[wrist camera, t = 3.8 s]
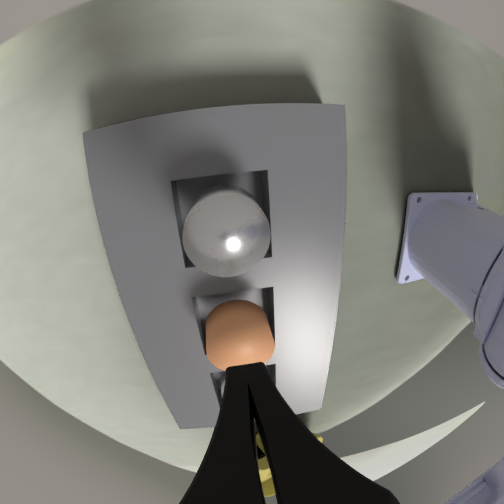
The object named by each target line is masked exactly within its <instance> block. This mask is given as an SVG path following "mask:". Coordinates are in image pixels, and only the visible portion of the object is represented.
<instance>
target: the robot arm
mask: <svg viewBox="0 0 504 504" xmlns="http://www.w3.org/2000/svg"><path fill="white" fill-rule="evenodd" d="M418 197H419V199H418V201H417V198H418ZM477 199H478V196H477V194H476V193H474V192H425V193H411V194H410V195H409V196H408V201H407V211H406V220H405V228H404V236H403V243H402V249H401V255H400V261H399V267H398V272H397V277H396V280H397V282H398V283H400V284H402V283H407V282H411V281H415V280H419V279H423V278H425V279H426V280H427V281H429V282H430V283H431V284H432V285H433V286H434V287H435V288H437V289H438V290H439V291H440V292H441V293H442V294H443V295H445V296H446V297H447V298H448V299H449V300H450V301H451V302H452V303H453V304H454V305H456V306H457V307H458V308H459V309H460V310H461V311H462V312H463V313H464V314H465V315H466V316H467V317H468V318H469V319H470V320H471V321H472V322H474V323H475V324H476V327H475V330H474V333H473V335H474V336H475V337H476V338H477V339H478V340H479V341H480V342H481V344H480V348H479V358H480V362H481V365H482V367H483V369H484V371H485V373H486V374H487V375H488V377H489V378H490V379H491V380H492V381H493V382H494V383H495V384H496V385H498V386H499V387H501V388H503V389H504V217H503V216H501V215H499V214H497V213H495V212H493V211H491V210H488V209H486V208H484V207H482V206H480V205H478V204H477ZM405 277H406V278H405ZM254 419H255V421H254ZM255 422H256V426H257V429H258V432H259V436H260V439H261V442H262V445H263V448H264V452H265V455H266V458H267V461H268V464H269V468H270V471H271V476H272V480H273V485H274V489H275V494H276V498H277V503H278V504H400V503H399V501H398V500H397V498H396V497H395V496H394V495H393V494H392V493H391V492H390V491H389V490H388V489H386V488H384V487H382V486H380V485H378V484H377V483H375V482H373V481H372V480H370V479H368V478H367V477H365V476H363V475H362V474H360V473H359V472H357V471H356V470H354V469H353V468H352V467H350V466H349V465H348V464H346V463H345V462H344V461H343V460H341V459H340V458H338V457H337V456H336V455H335V454H334V453H332V452H331V451H330V450H329V449H328V448H327V447H326V446H325V445H324V444H322V443H321V442H320V441H319V440H318V439H317V438H316V437H315V436H314V435H313V434H312V433H311V432H310V431H309V429H308V428H307V427H306V426H305V425H304V424H303V423H302V421H301V420H300V419H299V418H298V417H297V416H296V414H295V413H294V412H293V410H292V409H291V408H290V406H289V405H288V404H287V402H286V401H285V400H284V398H283V397H282V395H281V394H280V392H279V391H278V389H277V387H276V386H275V384H274V382H273V381H272V379H271V377H270V375H269V373H268V371H267V369H266V366H265V364H264V363H263V362H256V363H250V364H244V365H237V366H230V367H228V368H226V377H225V386H224V392H223V398H222V402H221V407H220V411H219V415H218V419H217V422H216V425H215V428H214V432H213V435H212V438H211V441H210V443H209V446H208V449H207V451H206V454H205V456H204V458H203V461H202V463H201V465H200V467H199V469H198V471H197V473H196V475H195V477H194V479H193V481H192V483H191V485H190V487H189V488H188V490H187V492H186V493H185V495H184V497H183V498H182V500H181V501H180V503H179V504H266V503H265V498H264V493H263V488H262V484H261V479H260V473H259V466H258V455H257V444H256V433H255ZM442 504H504V457H503V458H501V460H499V461H498V462H497V463H496V464H495V465H493V466H492V467H491V468H489V469H488V470H486V471H485V472H484V473H482V474H481V475H480V476H479V477H477V478H476V479H475V480H473V481H472V482H471V483H469V484H468V485H467V486H466V488H464V489H463V490H462V491H460V492H459V493H457V494H456V495H455V496H453V497H452V498H450V499H449V500H447V501H446V502H444V503H442Z"/></svg>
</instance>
